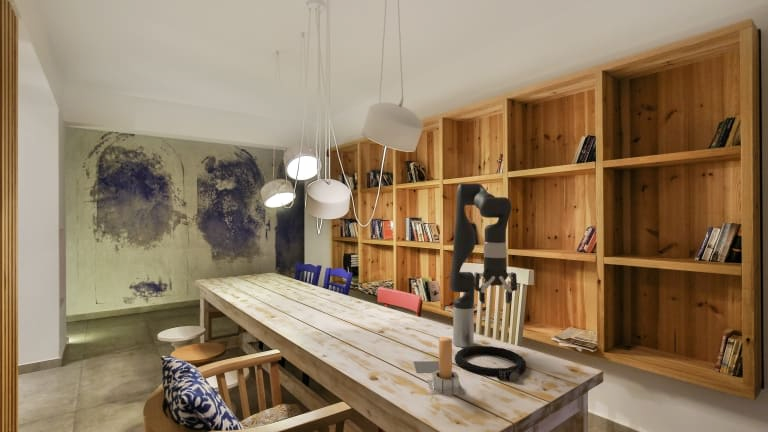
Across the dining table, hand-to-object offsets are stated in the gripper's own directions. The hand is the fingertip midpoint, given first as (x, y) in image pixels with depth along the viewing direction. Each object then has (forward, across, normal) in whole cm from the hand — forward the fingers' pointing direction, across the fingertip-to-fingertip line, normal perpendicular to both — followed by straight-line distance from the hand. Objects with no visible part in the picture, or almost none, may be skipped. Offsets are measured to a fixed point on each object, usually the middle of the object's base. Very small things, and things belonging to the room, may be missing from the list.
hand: (495, 303), depth 128 cm
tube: (+28, +17, 0) cm, 33 cm away
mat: (+29, +20, -17) cm, 39 cm away
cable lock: (+30, -5, -20) cm, 36 cm away
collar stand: (+29, +17, 0) cm, 34 cm away
